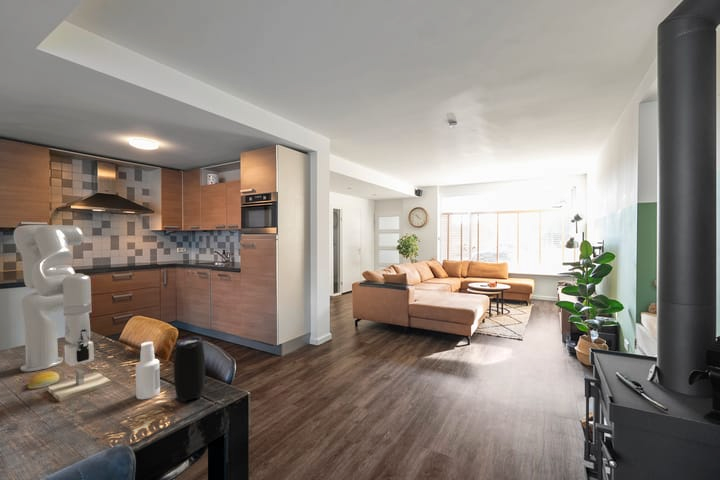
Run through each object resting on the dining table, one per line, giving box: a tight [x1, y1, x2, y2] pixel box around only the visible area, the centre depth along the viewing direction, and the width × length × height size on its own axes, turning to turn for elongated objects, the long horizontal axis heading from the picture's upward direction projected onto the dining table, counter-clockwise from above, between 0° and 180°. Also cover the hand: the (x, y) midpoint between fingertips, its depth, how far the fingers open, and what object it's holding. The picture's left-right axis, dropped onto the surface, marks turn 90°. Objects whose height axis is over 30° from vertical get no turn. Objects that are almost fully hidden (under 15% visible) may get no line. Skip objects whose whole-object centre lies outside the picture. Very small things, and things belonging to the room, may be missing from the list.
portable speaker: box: [173, 335, 206, 404], centre depth 105 cm, size 9×9×20 cm
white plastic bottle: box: [134, 341, 161, 400], centre depth 107 cm, size 7×7×18 cm
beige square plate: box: [47, 369, 112, 403], centre depth 112 cm, size 14×14×6 cm
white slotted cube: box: [64, 340, 95, 367], centre depth 112 cm, size 6×6×6 cm
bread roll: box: [26, 370, 60, 390], centre depth 116 cm, size 8×9×4 cm
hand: (79, 358), depth 112 cm, fingers closed on white slotted cube, 6 cm apart
